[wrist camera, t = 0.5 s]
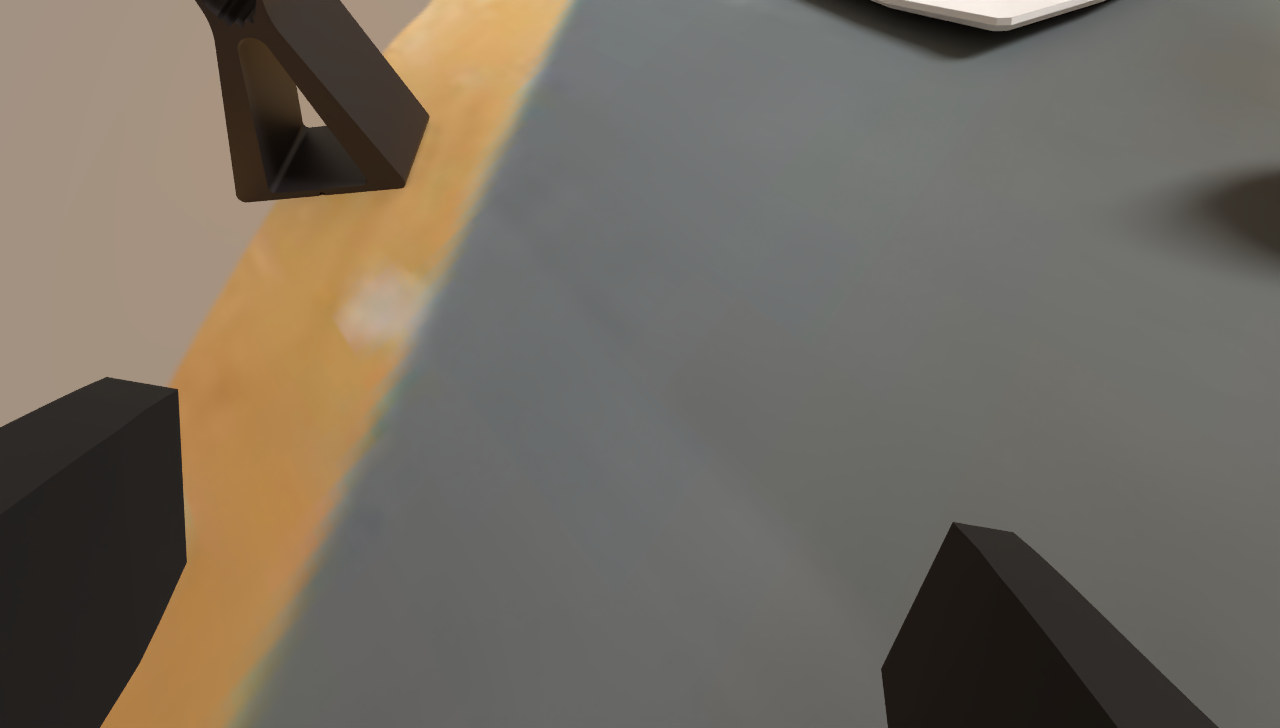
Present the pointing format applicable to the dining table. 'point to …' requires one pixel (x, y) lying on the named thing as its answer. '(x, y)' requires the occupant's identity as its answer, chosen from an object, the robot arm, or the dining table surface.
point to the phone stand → (333, 84)
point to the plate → (989, 11)
